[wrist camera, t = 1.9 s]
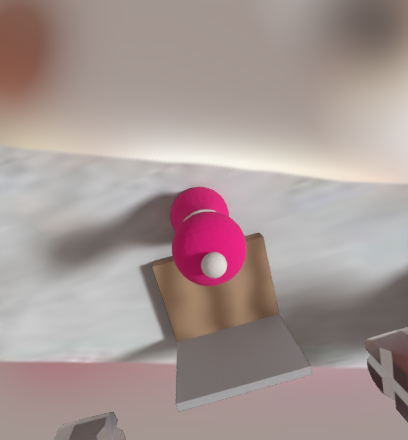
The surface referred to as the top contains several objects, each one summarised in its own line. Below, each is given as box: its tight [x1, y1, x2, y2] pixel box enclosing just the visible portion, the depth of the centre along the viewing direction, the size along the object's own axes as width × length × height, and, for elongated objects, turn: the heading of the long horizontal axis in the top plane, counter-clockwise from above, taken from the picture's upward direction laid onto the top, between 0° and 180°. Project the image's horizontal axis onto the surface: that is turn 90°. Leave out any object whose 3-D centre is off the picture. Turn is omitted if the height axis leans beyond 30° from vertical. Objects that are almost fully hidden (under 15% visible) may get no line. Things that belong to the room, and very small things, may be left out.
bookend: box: [152, 233, 312, 412], centre depth 34 cm, size 16×14×12 cm
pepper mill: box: [171, 187, 247, 286], centre depth 26 cm, size 7×7×20 cm
